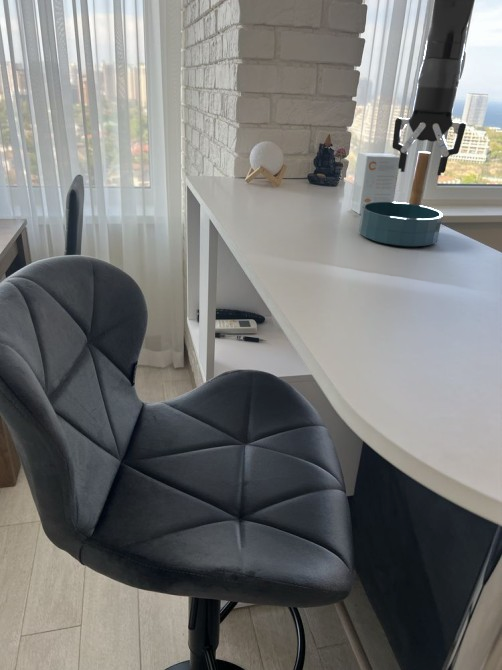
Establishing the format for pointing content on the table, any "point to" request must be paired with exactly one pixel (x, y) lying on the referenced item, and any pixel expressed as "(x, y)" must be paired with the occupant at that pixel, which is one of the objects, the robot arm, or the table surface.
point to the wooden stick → (419, 177)
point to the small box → (374, 179)
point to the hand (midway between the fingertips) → (420, 173)
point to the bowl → (400, 224)
